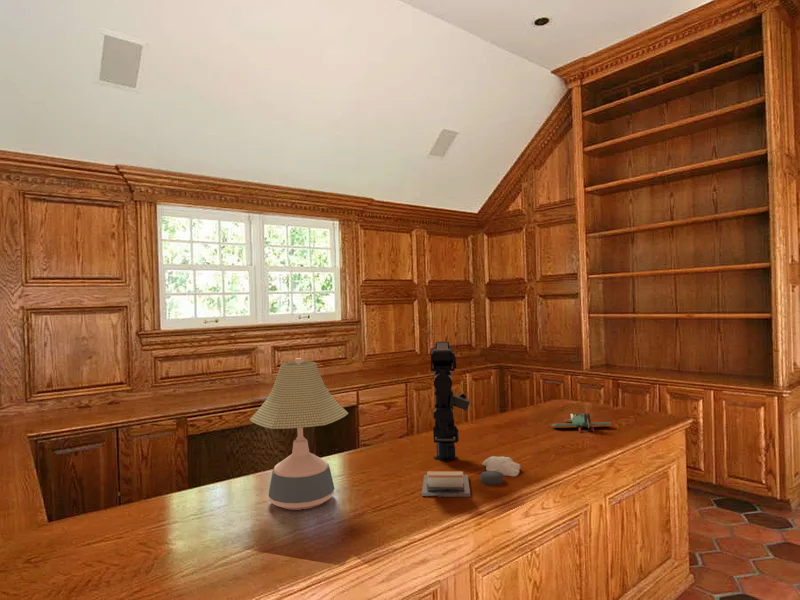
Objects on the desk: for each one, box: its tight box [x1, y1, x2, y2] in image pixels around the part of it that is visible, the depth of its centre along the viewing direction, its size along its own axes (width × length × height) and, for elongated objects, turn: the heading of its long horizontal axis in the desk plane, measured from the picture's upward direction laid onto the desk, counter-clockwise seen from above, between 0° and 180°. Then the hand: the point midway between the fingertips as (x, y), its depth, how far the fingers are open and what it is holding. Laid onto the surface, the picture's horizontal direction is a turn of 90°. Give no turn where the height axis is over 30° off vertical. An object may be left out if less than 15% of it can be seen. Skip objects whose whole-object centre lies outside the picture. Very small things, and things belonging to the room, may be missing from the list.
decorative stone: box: [482, 455, 521, 478], centre depth 168 cm, size 11×4×15 cm
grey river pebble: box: [480, 470, 504, 486], centre depth 157 cm, size 7×7×2 cm
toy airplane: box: [550, 406, 612, 433], centre depth 221 cm, size 22×25×11 cm
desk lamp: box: [249, 357, 349, 511], centre depth 146 cm, size 26×28×42 cm
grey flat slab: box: [421, 474, 471, 498], centre depth 153 cm, size 16×14×1 cm
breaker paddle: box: [426, 470, 464, 489], centre depth 145 cm, size 2×11×11 cm
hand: (444, 435), depth 164 cm, fingers closed
